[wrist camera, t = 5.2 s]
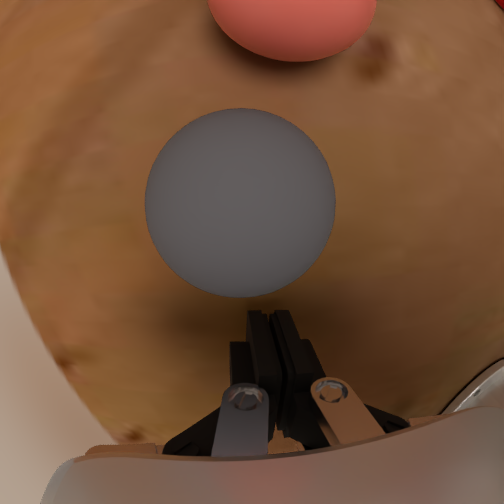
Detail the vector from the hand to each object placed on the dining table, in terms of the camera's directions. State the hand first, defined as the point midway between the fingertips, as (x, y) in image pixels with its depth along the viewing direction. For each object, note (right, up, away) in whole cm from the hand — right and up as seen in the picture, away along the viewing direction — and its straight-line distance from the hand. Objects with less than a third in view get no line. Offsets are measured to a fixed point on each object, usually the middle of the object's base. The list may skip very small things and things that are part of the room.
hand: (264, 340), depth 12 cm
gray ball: (-1, +5, -3) cm, 6 cm away
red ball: (+1, +12, -5) cm, 13 cm away
